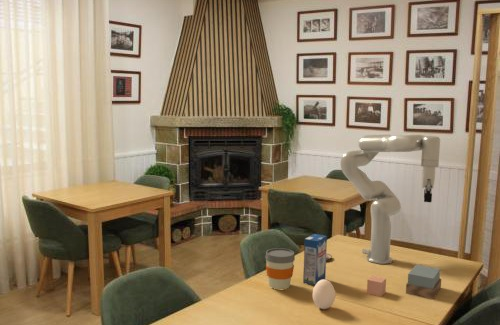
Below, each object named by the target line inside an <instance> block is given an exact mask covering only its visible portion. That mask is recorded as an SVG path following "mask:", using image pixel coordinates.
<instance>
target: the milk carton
mask: <svg viewBox="0 0 500 325" xmlns="http://www.w3.org/2000/svg"><path fill="white" fill-rule="evenodd" d="M327 243H328V236H327V235H323V234H319V233H313V234H311V235H309V236H308V237H305V238H304V244H303V245H304V250H303V276H302V277H303V278H302V279H303V282H302V283H303V284H305V283H307V284H306V285H310V284H312V285H311V286H314V285H316V284H317V282H318V281H320V280H323V279H325V280H326V272H327V271H326V270H327V269H326V268H327V262H326V253H327Z"/></svg>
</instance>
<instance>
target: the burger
mask: <svg viewBox="0 0 500 325" xmlns="http://www.w3.org/2000/svg"><path fill="white" fill-rule="evenodd" d="M330 259H332V254H329V253H327V252H326V263H328V262H330Z"/></svg>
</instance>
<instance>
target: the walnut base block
mask: <svg viewBox="0 0 500 325" xmlns="http://www.w3.org/2000/svg"><path fill="white" fill-rule="evenodd" d="M405 284H406V285H405V294H407V295H412V296H417V297H420V298H421V297H422V298H425V299H431V300H434V299H435V298H436V296H437V295H438V293H439V291H440V289H442V288H441V287H442V278H440V279H439V280H438V282H437V283H436V285H435V286H434V288H433V289H429V288H424V287H419V286H414V285H409V284H408V282H407V283H405Z"/></svg>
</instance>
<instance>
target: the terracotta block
mask: <svg viewBox="0 0 500 325" xmlns="http://www.w3.org/2000/svg"><path fill="white" fill-rule="evenodd" d="M366 283H367V284H366V287H367V288H366V294H368V295H372V296H377V297H382V296H383V295H384V294H385V293H386V290H387V287H386V286H387V278H386V277H382V276H377V275H376V276H375V275H371V276H370V277H369V278H367V282H366Z"/></svg>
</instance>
